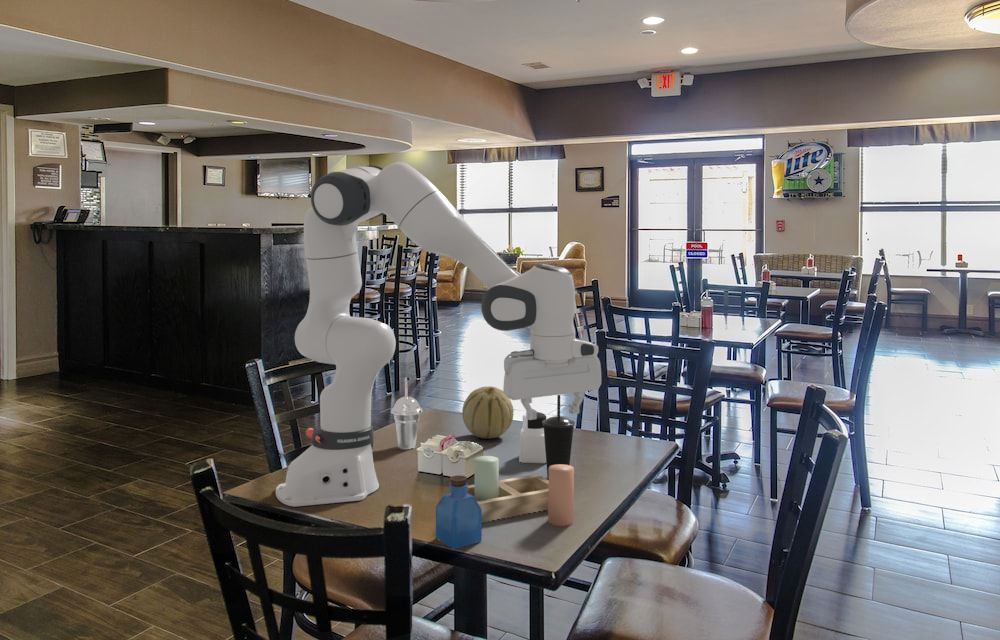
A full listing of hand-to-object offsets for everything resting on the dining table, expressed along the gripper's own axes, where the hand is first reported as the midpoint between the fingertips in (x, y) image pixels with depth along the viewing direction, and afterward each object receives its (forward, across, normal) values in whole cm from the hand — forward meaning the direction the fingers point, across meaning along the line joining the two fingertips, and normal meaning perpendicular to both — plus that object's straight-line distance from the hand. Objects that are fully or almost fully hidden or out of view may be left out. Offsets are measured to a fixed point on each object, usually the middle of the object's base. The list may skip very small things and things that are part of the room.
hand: (553, 416), depth 150 cm
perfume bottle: (+21, -22, -3) cm, 30 cm away
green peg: (+21, -11, +9) cm, 25 cm away
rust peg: (+21, 0, -2) cm, 21 cm away
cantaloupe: (+24, +11, +62) cm, 67 cm away
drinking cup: (+22, +12, +22) cm, 34 cm away
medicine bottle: (+23, +14, +38) cm, 47 cm away
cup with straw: (+23, -13, +61) cm, 66 cm away
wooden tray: (+21, -6, +9) cm, 24 cm away
